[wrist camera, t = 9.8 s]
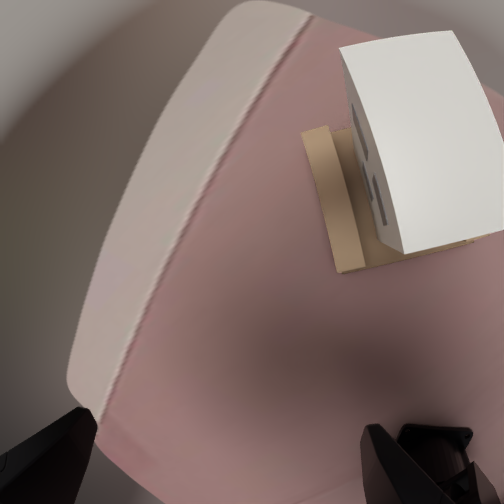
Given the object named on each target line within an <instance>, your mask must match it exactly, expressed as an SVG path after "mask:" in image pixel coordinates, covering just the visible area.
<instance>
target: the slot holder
mask: <svg viewBox="0 0 504 504" xmlns="http://www.w3.org/2000/svg"><path fill="white" fill-rule="evenodd" d="M301 135H302V139H303V142H304V145H305V149H306V152H307V155H308V159H309V162H310V166H311V170H312V173H313V177H314V180H315V184H316V188H317V192H318V195H319V199H320V203H321V207H322V211H323V215H324V219H325V223H326V227H327V231H328V235H329V239H330V244H331V248H332V252H333V257H334V261H335V266H336V270H337V273H339V272H342V274H346V273H350V272H355V271H359V270H364V269H368V268H373V267H377V266H381V265H386V264H390V263H394V262H398V261H402V260H407V259H411V258H415V257H419V256H423V255H427V254H431V253H435V252H439V251H443V250H447V249H451V248H454V247H458V246H462V245H466V244H470V243H473V242H474V240H475V239H479V238H482V237H486V236H490V233H489V234H485V235H481V236H478V237H474V238H470V239H466V240H462V241H458V242H454V243H450V244H446V245H442V246H438V247H434V248H429V249H425V250H421V251H417V252H413V253H408V254H403V253H401V252H399V251H397V250H395V249H393V248H391V247H390V246H388V245H386V244H384V243H382V242H380V241H378V240H377V235H376V231H375V226H374V222H373V218H372V214H371V210H370V206H369V202H368V198H367V194H366V190H365V186H364V183H363V179H362V175H361V172H360V168H359V165H358V162H357V158H356V155H355V152H354V148H353V139H352V130H351V127H350V128H346V129H342V130H339V131H335V132H331V133H330V130H329V127H328V125H326V126H323V127H319V128H315V129H312V130H308V131H305V132H302V133H301Z"/></svg>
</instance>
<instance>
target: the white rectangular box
mask: <svg viewBox="0 0 504 504" xmlns="http://www.w3.org/2000/svg"><path fill="white" fill-rule="evenodd" d="M339 51H340V56H341V62H342V67H343V73H344V79H345V85H346V92H347V99H348V106H349V114H350V121H351V130H352V139H353V148H354V152H355V155H356V158H357V162H358V165H359V168H360V172H361V175H362V179H363V183H364V186H365V190H366V194H367V198H368V202H369V206H370V210H371V214H372V218H373V222H374V226H375V231H376V235H377V240H378V241H380V242H382V243H384V244H386V245H388V246H390V247H391V248H393V249H395V250H397V251H399V252H401V253H403V254H408V253H413V252H417V251H421V250H425V249H429V248H434V247H438V246H442V245H446V244H450V243H454V242H458V241H462V240H466V239H470V238H474V237H478V236H481V235H485V234H489V233H493V232H497V231H500V230H504V142H503V139H502V137H501V134H500V131H499V128H498V125H497V123H496V120H495V117H494V115H493V112H492V110H491V107H490V105H489V102H488V100H487V98H486V95H485V93H484V91H483V89H482V86H481V84H480V82H479V80H478V78H477V76H476V74H475V72H474V70H473V68H472V66H471V64H470V62H469V60H468V58H467V56H466V54H465V52H464V51H463V49H462V47H461V45H460V43H459V42H458V40H457V38H456V36H455V35H454V33H453V31H439V32H429V33H420V34H412V35H405V36H398V37H392V38H386V39H380V40H375V41H369V42H364V43H360V44H355V45H350V46H346V47H342V48H339Z"/></svg>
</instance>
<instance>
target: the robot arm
mask: <svg viewBox="0 0 504 504" xmlns="http://www.w3.org/2000/svg"><path fill="white" fill-rule="evenodd" d="M407 429H409V431H407V432H406V431H405V430H407ZM96 432H97V423H96V421H95V419H94V417H93V415H92V413H91V411H90V410H89V409H88V408H84V407H76V408H75V409H73V410H72V411H70V412H69V413H67V414H66V415H64V416H62V417H61V418H59V419H58V420H56V421H55V422H53V423H52V424H50V425H48V426H47V427H45V428H44V429H42V430H41V431H39V432H37V433H36V434H34V435H33V436H31V437H30V438H28V439H27V440H25V441H23V442H22V443H20V444H18V445H17V446H15V447H14V448H12V449H10V450H9V451H8V452H5V453H4V454H2V455H1V456H0V504H74V503H75V500H76V497H77V494H78V491H79V488H80V486H81V483H82V480H83V477H84V474H85V472H86V469H87V466H88V463H89V459H90V456H91V451H92V447H93V443H94V440H95V436H96ZM467 434H468V435H467ZM466 435H467V436H466ZM472 436H473V432H472V430H471V429H466V428H448V427H434V426H423V425H414V424H406V425H404V426H403V427H402V428H401V430H400V433H399V435H398V437H397V439H396V441H395V440H394V439H393V438H392V437H391V436H390V435H389V434H388V433H387V432H386V430H385V429H384V428H383V427H382V426H381V425H380V424H369V425H366V426H365V429H364V432H363V435H362V438H361V441H360V449H361V460H362V473H363V486H364V492H365V497H366V502H367V504H501V503H500V500H499V498H498V495H497V493H496V490H495V488H494V487H493V485H492V484H491V483H490V481H489V480H488V479H487V477H486V476H485V475H484V473H483V472H482V471H481V470H480V468H479V467H478V466H477V464H476V463H475V462H474V461H473V462H472V463H470V462H469V459H468V456H467V453H466V450H465V449H466V447H467V446H468V444H469V442H470V440H471V438H472Z"/></svg>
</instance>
